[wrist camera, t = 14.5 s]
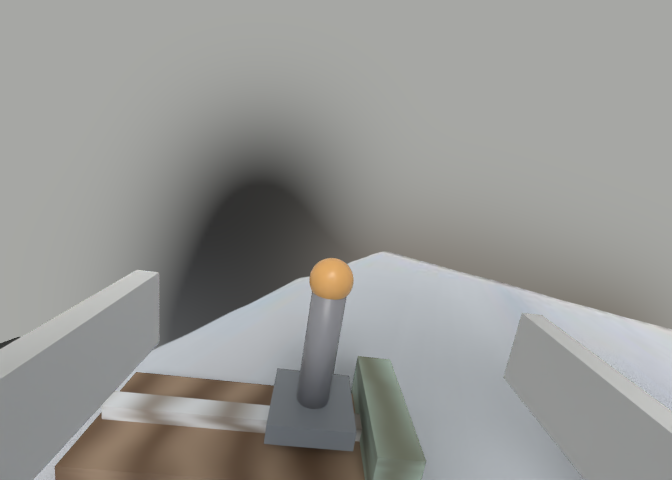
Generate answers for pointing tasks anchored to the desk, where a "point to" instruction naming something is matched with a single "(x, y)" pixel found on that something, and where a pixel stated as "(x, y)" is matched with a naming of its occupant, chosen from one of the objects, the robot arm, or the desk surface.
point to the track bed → (239, 434)
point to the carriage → (317, 373)
